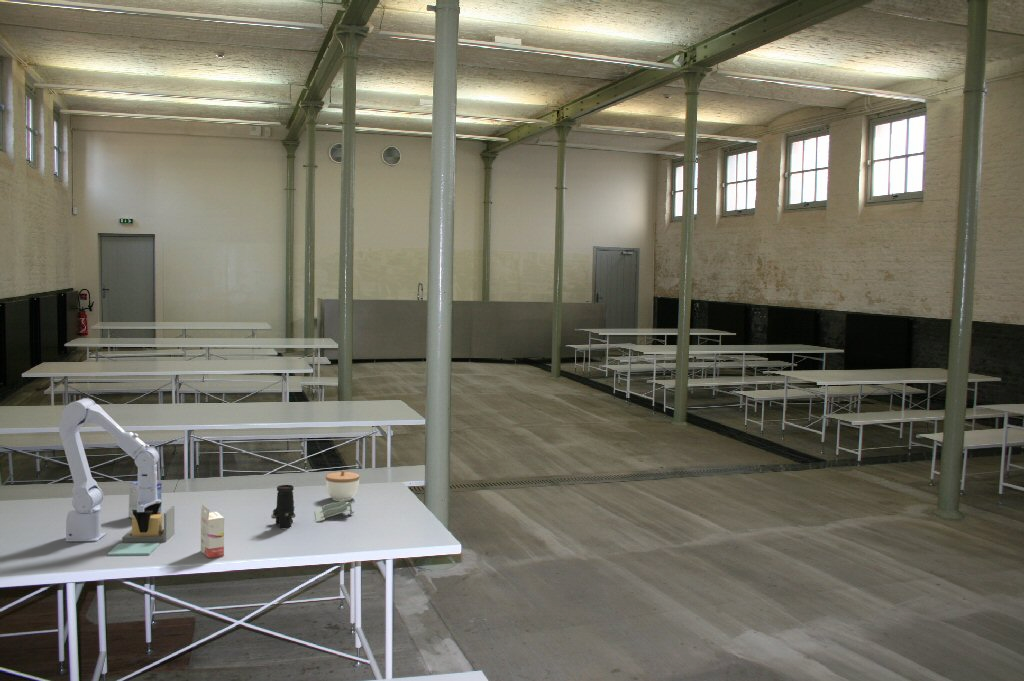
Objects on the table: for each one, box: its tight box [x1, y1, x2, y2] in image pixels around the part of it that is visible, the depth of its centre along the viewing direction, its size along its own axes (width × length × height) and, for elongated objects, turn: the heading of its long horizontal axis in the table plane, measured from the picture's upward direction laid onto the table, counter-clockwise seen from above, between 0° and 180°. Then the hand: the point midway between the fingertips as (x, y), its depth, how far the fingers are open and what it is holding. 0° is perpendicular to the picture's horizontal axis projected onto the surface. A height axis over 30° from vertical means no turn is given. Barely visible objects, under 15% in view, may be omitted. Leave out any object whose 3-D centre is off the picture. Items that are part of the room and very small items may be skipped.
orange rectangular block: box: [131, 513, 164, 536], centre depth 270 cm, size 8×4×7 cm, turn 96°
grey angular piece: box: [121, 505, 175, 543], centre depth 270 cm, size 13×9×9 cm
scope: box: [270, 484, 296, 529], centre depth 287 cm, size 8×14×10 cm
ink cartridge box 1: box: [128, 480, 162, 519], centre depth 293 cm, size 10×6×14 cm, turn 71°
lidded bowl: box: [325, 469, 360, 502], centre depth 325 cm, size 13×13×11 cm
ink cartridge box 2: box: [200, 503, 225, 559], centre depth 256 cm, size 9×5×15 cm, turn 35°
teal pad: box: [107, 542, 161, 557], centre depth 258 cm, size 12×10×1 cm
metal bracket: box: [313, 499, 355, 523], centre depth 301 cm, size 14×6×15 cm
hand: (147, 528), depth 270 cm, fingers open, 7 cm apart
